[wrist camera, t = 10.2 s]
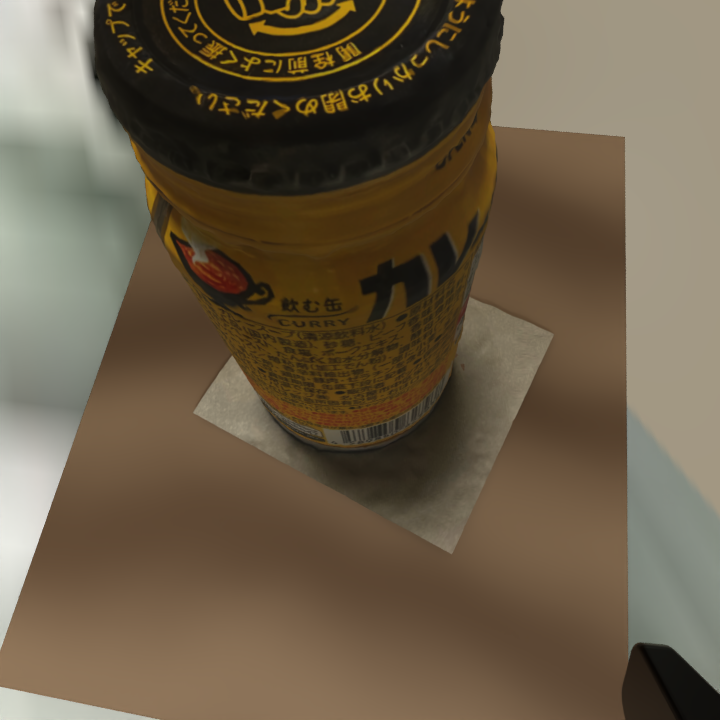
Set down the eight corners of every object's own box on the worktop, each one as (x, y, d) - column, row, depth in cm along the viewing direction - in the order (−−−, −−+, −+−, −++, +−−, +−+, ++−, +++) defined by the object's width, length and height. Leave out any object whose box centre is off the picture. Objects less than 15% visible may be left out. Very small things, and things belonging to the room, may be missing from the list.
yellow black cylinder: (316, 233, 20) (219, -225, 9) (552, 336, 18) (803, -84, 7) (194, 415, 18) (-138, 104, 7) (450, 555, 16) (583, 446, 5)
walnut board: (607, 796, 15) (629, 816, 13) (22, 677, 17) (-12, 684, 15) (610, 165, 22) (624, 137, 21) (204, 129, 24) (192, 101, 23)
